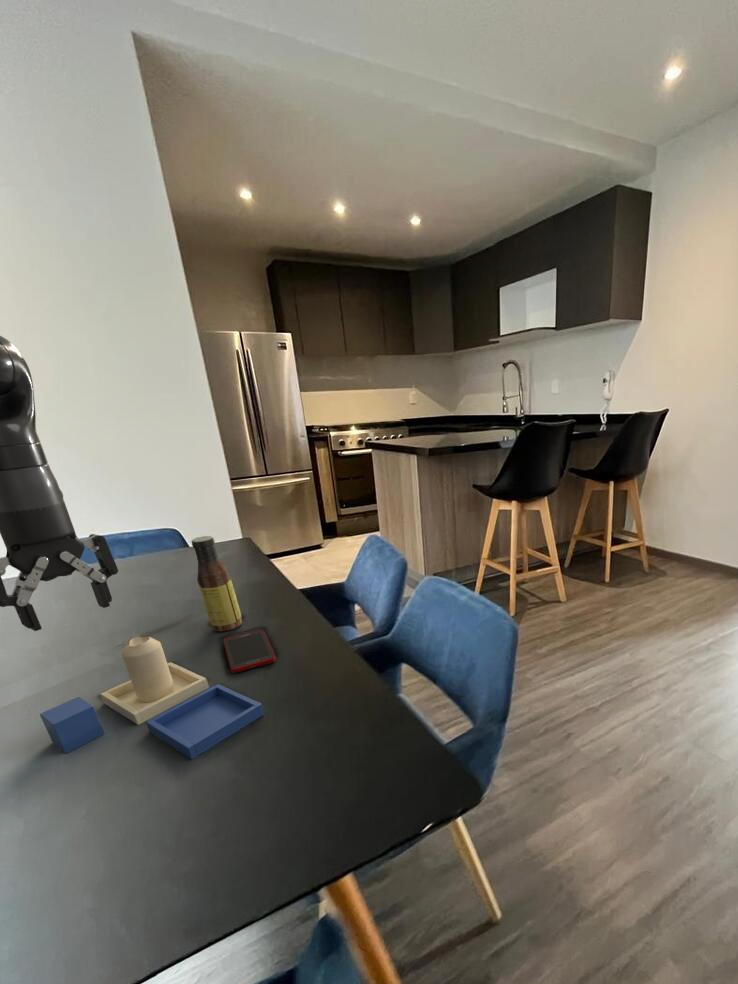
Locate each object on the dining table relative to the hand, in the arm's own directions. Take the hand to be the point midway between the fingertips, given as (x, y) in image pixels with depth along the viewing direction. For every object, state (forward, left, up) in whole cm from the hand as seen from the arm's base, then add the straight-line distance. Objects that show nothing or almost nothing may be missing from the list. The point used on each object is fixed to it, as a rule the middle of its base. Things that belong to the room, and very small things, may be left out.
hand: (71, 617), depth 70 cm
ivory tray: (+7, 0, -17) cm, 19 cm away
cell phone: (+24, -1, -18) cm, 30 cm away
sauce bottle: (+29, +14, -18) cm, 37 cm away
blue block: (-5, -1, -17) cm, 18 cm away
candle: (+7, 0, -17) cm, 19 cm away
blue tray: (+7, -15, -17) cm, 24 cm away
